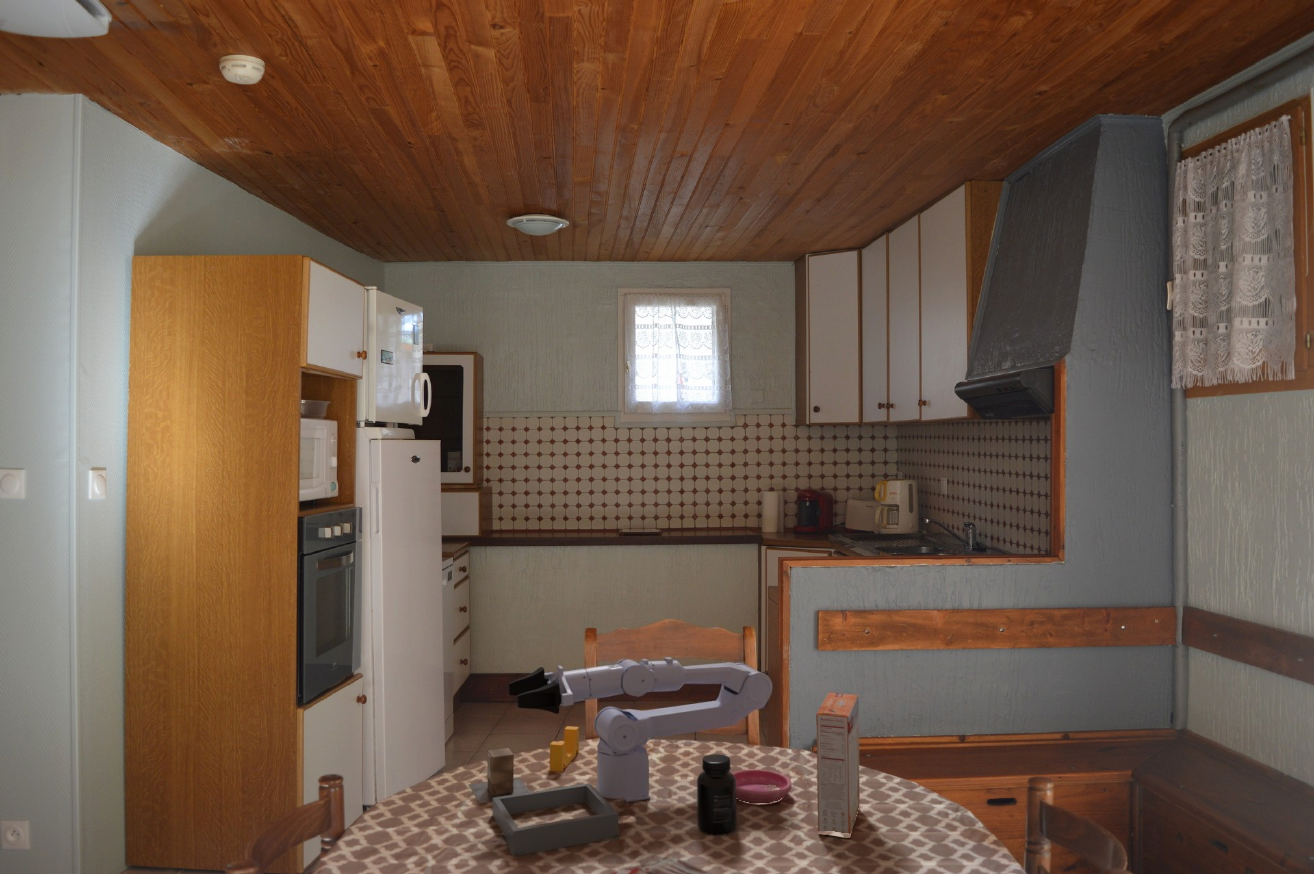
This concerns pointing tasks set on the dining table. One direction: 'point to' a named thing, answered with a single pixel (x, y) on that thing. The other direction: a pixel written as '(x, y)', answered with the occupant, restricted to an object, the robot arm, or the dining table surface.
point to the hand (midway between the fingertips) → (513, 695)
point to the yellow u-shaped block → (564, 749)
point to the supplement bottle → (716, 796)
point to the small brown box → (500, 771)
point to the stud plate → (486, 796)
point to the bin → (560, 831)
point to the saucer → (752, 781)
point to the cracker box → (838, 762)
